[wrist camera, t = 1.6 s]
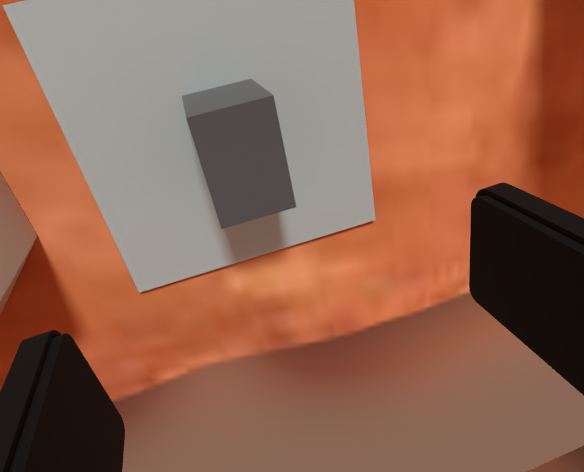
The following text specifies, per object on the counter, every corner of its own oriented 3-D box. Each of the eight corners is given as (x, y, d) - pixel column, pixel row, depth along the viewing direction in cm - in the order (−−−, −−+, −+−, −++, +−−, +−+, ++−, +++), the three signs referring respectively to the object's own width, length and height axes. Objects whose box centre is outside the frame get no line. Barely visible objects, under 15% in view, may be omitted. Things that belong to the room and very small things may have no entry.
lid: (339, -63, 20) (400, -89, 15) (368, 213, 27) (415, 259, 22) (10, 5, 18) (-52, 2, 13) (140, 283, 25) (133, 351, 20)
